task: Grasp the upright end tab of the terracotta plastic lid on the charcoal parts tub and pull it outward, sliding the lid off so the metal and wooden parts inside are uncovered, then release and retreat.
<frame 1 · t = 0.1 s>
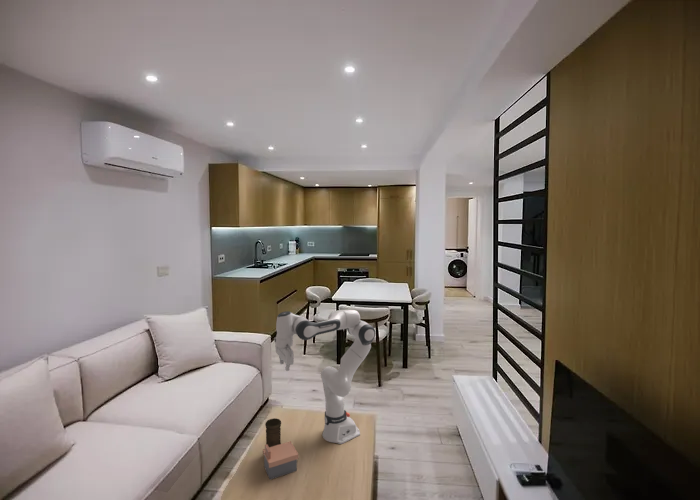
hand: (284, 366, 192), 48 cm above the table, fingers open, 8 cm apart
lid: (280, 450, 181), point 10 cm above the table, slide at 0.0 cm
tub: (280, 468, 182), on the table
container: (273, 454, 193), on the table
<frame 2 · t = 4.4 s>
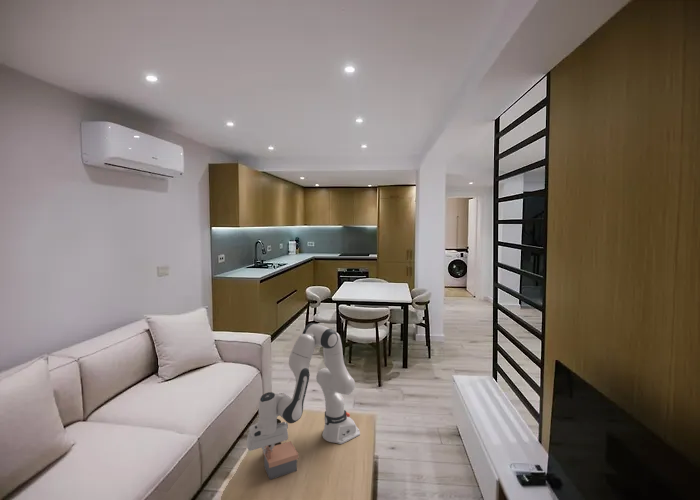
hand: (267, 452, 178), 11 cm above the table, fingers closed on lid
lid: (280, 450, 181), point 10 cm above the table, slide at 0.0 cm, touching gripper
everything else where it was.
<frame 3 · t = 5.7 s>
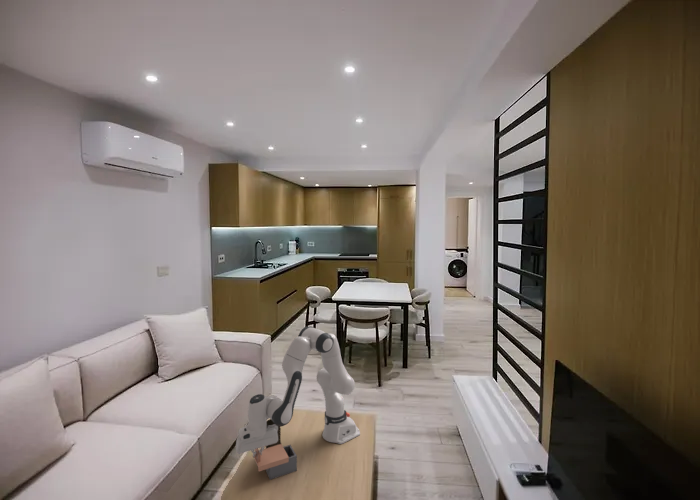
hand: (257, 455, 175), 11 cm above the table, fingers closed on lid
lid: (270, 453, 178), point 10 cm above the table, slide at 5.1 cm, touching gripper
everything else where it was.
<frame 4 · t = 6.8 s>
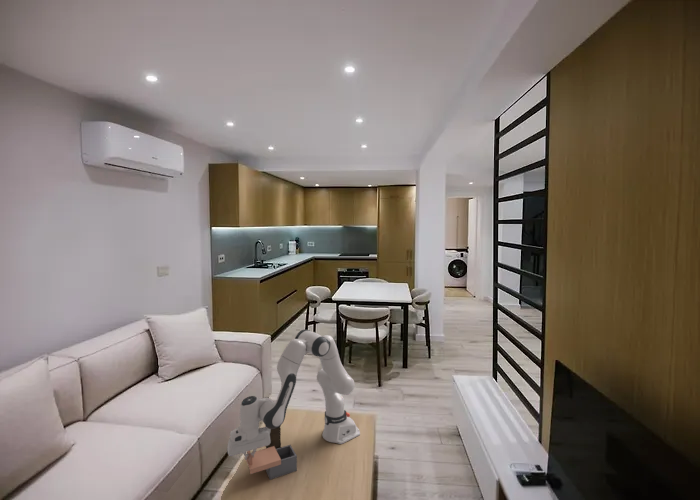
hand: (249, 457, 173), 11 cm above the table, fingers closed on lid
lid: (262, 455, 177), point 10 cm above the table, slide at 9.1 cm, touching gripper
everything else where it was.
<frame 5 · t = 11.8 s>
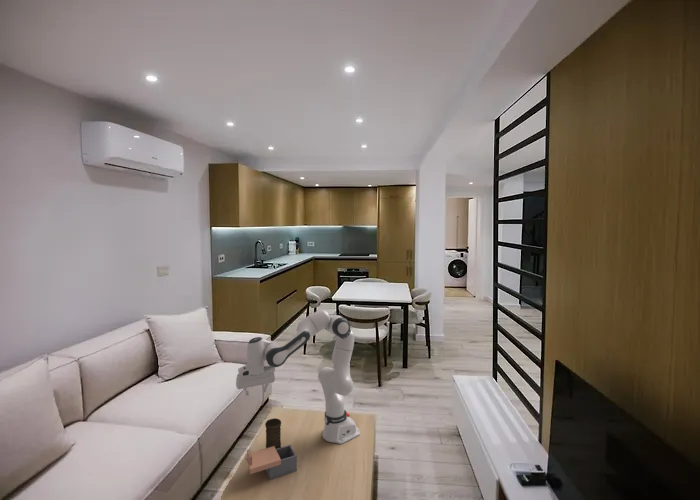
hand: (255, 392, 191), 34 cm above the table, fingers open, 8 cm apart
lid: (262, 455, 177), point 10 cm above the table, slide at 9.1 cm
everything else where it was.
at the end: lid slide at 9.1 cm; the gripper is holding nothing; container moved 0.2 cm from its start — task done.
